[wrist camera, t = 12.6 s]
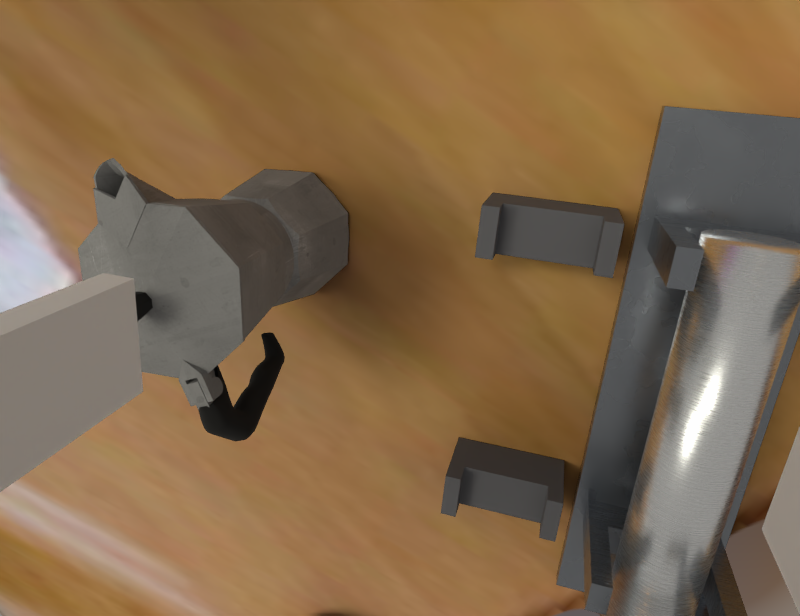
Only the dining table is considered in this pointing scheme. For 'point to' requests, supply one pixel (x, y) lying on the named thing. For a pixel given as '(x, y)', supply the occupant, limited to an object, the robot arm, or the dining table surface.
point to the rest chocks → (547, 241)
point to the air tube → (705, 420)
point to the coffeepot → (215, 274)
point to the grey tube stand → (658, 315)
